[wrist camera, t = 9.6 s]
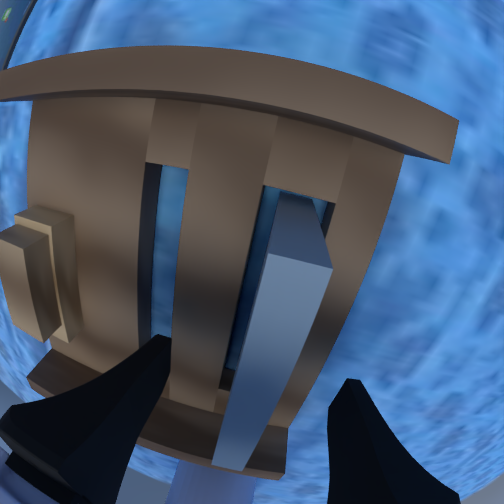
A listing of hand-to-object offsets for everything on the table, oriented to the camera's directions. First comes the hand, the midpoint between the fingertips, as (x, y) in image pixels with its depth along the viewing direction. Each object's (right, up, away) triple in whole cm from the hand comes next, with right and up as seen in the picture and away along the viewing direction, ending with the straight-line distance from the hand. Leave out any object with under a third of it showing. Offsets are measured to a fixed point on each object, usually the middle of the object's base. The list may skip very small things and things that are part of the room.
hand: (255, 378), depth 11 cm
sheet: (+1, +3, +6) cm, 6 cm away
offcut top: (-13, +4, +3) cm, 13 cm away
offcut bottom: (-13, +4, +5) cm, 14 cm away
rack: (-5, +4, +6) cm, 9 cm away
